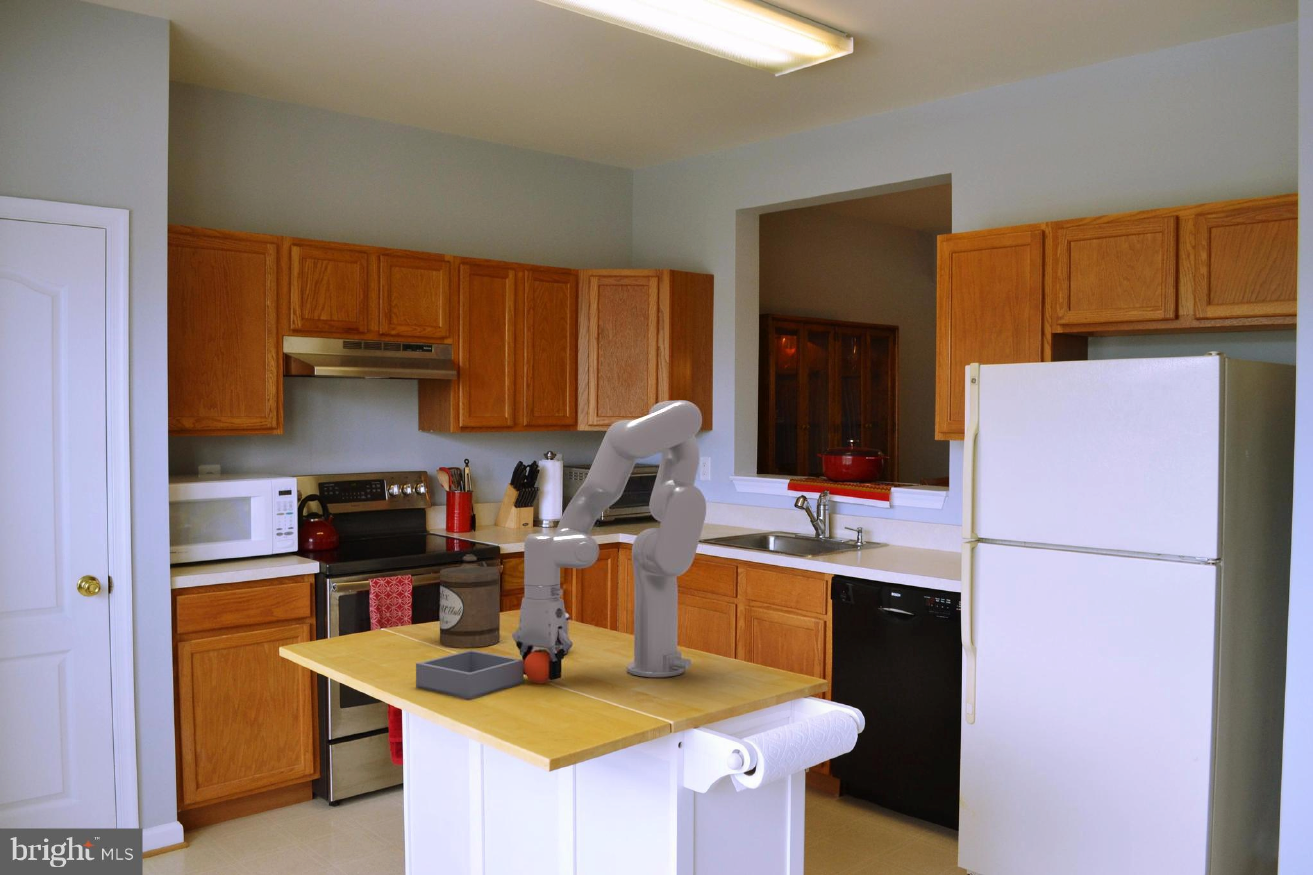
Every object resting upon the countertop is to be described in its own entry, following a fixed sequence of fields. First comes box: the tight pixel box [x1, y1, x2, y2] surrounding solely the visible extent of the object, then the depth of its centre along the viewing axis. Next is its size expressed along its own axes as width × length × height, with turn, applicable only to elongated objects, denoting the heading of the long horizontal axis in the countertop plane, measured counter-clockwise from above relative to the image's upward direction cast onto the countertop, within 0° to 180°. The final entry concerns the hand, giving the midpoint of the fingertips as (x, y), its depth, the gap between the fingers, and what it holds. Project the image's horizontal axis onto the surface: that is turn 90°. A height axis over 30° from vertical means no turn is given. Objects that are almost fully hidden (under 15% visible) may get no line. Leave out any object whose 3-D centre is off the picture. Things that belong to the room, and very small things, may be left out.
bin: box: [415, 649, 525, 700], centre depth 208 cm, size 16×16×5 cm
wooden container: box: [439, 553, 501, 649], centre depth 250 cm, size 15×15×22 cm
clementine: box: [524, 649, 552, 684], centre depth 211 cm, size 8×7×7 cm
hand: (541, 675), depth 211 cm, fingers closed on clementine, 7 cm apart
